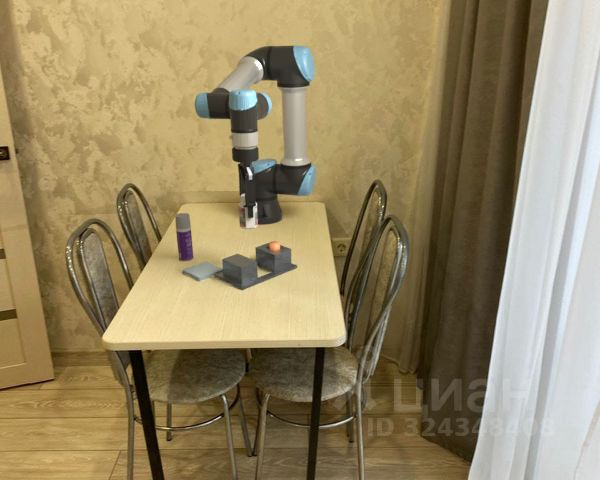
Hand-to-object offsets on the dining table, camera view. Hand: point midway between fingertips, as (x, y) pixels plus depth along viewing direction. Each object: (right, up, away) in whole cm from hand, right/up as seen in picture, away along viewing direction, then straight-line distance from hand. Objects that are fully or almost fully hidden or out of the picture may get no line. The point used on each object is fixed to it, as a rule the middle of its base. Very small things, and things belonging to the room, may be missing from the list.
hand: (248, 224), depth 162 cm
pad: (-15, -15, +6) cm, 22 cm away
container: (-22, -11, +16) cm, 29 cm away
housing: (+2, -15, +5) cm, 16 cm away
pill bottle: (0, -1, 0) cm, 1 cm away
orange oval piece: (+7, -11, +10) cm, 16 cm away
